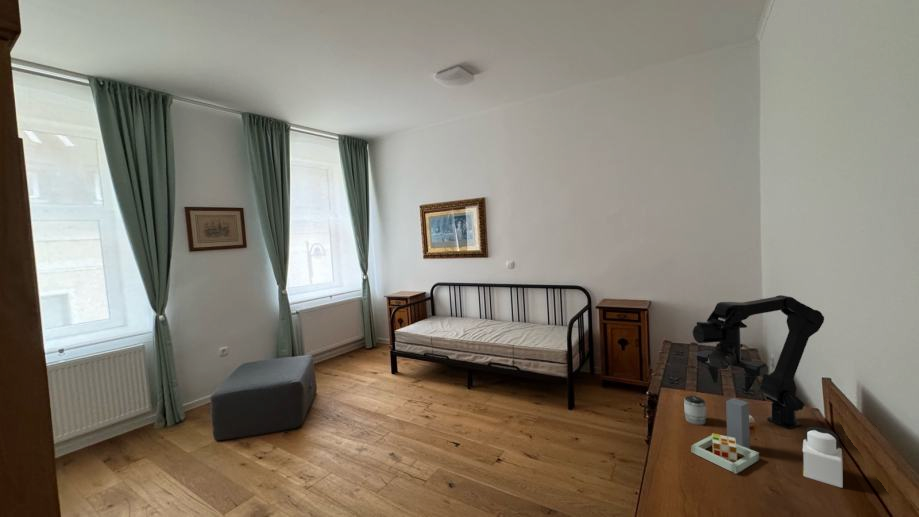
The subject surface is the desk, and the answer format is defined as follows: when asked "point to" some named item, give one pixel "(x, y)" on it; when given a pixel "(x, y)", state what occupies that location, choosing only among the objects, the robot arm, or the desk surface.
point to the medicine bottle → (822, 456)
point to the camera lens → (695, 410)
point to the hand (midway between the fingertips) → (730, 387)
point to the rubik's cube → (724, 447)
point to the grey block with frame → (737, 429)
